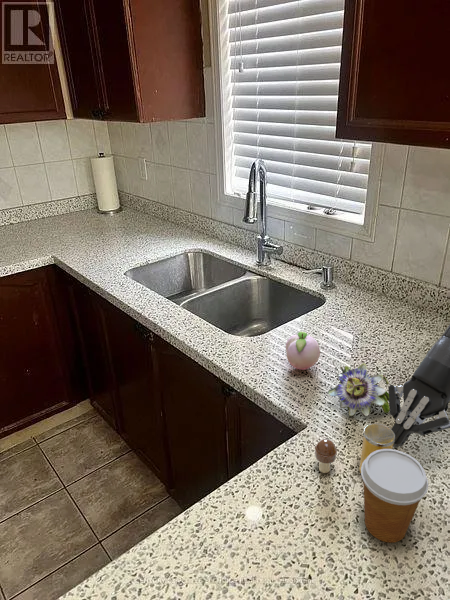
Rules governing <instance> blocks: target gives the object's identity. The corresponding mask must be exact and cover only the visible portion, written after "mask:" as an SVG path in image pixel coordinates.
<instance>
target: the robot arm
mask: <svg viewBox="0 0 450 600" xmlns="http://www.w3.org/2000/svg"><path fill="white" fill-rule="evenodd" d="M388 393H389V401H388V403H389V408H390V410H389V415H391V416H392V418H393V419H394V424H393V425H392V427H391V428H390V429H391V430H392V431H393V432H394V434H395V441H394V444H393V448H394V449H398V448H399V447H400V448H401V447H403V446H404V445H405V444H406V442H407V441H408V440H409V438H410V436H411V435H412V434H416V435H419V436H422V437H423V436H427V435H430V434H433V433H436V432H439V431H444V430H447V429H450V419H449V416H448V413H447V411H448V409H449V403H450V324H448V326H447V327H446V329H445V330H444V331H443V333H442V334H441V336H440V337H439V338H438V340H436V342H435V343H434V344H433V345H432V346H431V348H430V349H429V350H428V351H427V353H426V354H425V356H424V358H423V359H422V361H421V362H420V364H419V365H418V366H417V368H416V369H415V371H414V373H413V374H412V376H411V378H410V379H409V380H408V381H405V382H404V384H403V385H397V386H395V385H394V384H389V386H388ZM401 398H403V404H402V405H401ZM432 417H433V418H434V419H433V420H429V421H426V420H427V419H429V418H432ZM425 421H426V422H425Z"/></svg>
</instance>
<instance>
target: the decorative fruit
mask: <svg viewBox="0 0 450 600" xmlns="http://www.w3.org/2000/svg"><path fill="white" fill-rule="evenodd" d="M285 352H286V359H287V361H288V363H289V365H291V367H293V368H294V369H297V370H308V369H310V368H312V367H313V366H314V365H316V363H317V362H318V361H319V359H320V356H321V348H320V345H319V343H318V341H317V340H316V339H315V338H314V337H312V336H311V335H308V333H307V332H305V331H298V332H297V333H296V334H294V335H292V336H290V337H289V338H288V339H287V341H286V343H285Z"/></svg>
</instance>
